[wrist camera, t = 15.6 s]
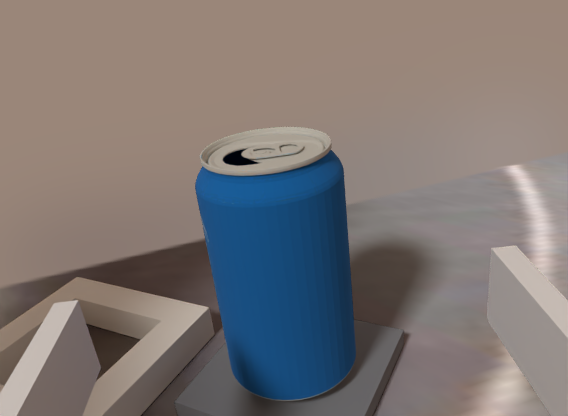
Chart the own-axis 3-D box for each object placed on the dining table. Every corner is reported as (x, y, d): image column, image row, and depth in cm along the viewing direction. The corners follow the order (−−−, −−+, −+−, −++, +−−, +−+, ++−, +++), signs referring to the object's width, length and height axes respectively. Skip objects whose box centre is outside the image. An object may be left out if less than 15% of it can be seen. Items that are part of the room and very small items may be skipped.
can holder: (-72, 416, 28) (-87, 388, 27) (84, 300, 37) (77, 276, 36) (73, 489, 23) (60, 457, 22) (214, 334, 32) (209, 307, 31)
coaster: (178, 416, 26) (173, 401, 26) (264, 312, 33) (262, 300, 33) (345, 477, 22) (344, 460, 22) (403, 344, 29) (403, 329, 29)
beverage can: (231, 335, 30) (193, 135, 25) (342, 317, 30) (326, 116, 25) (234, 423, 24) (184, 185, 19) (371, 400, 24) (357, 160, 19)
